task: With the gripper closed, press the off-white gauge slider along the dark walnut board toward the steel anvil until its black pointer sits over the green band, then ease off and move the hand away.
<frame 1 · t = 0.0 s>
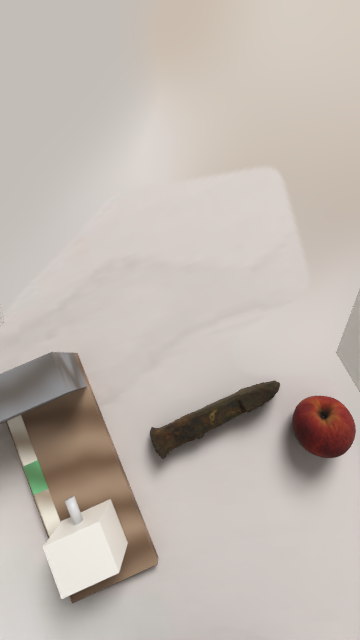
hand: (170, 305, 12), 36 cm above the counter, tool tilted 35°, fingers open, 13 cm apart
gauge board: (76, 469, 46), on the counter
hand tool: (213, 407, 47), on the counter
apple: (311, 420, 47), on the counter
gauge slider: (73, 537, 41), point 5 cm above the counter, slide at 0.0 cm
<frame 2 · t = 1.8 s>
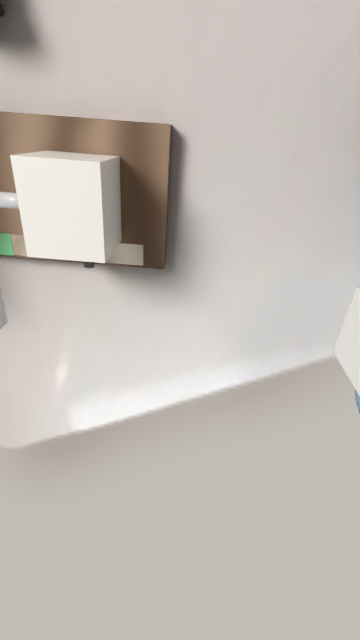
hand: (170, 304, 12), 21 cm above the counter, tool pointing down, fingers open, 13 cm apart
gauge board: (5, 188, 30), on the counter
gauge slider: (58, 220, 27), point 5 cm above the counter, slide at 0.0 cm
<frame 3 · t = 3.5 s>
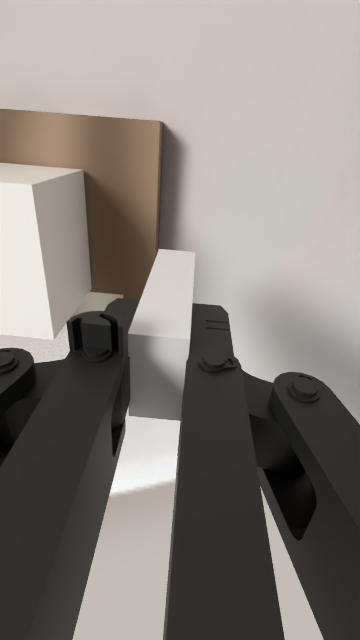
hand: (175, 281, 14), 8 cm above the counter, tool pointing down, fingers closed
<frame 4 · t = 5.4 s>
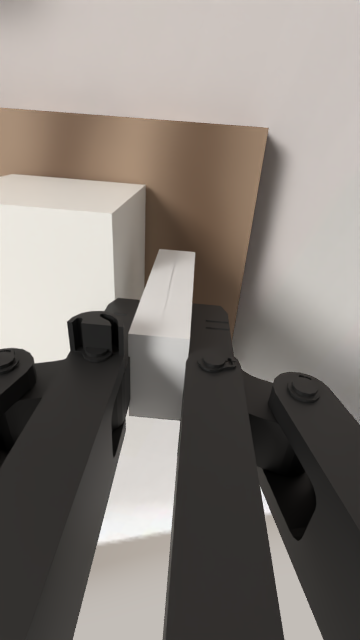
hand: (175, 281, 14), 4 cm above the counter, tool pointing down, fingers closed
gauge slider: (31, 302, 14), point 5 cm above the counter, slide at 1.0 cm, touching gripper
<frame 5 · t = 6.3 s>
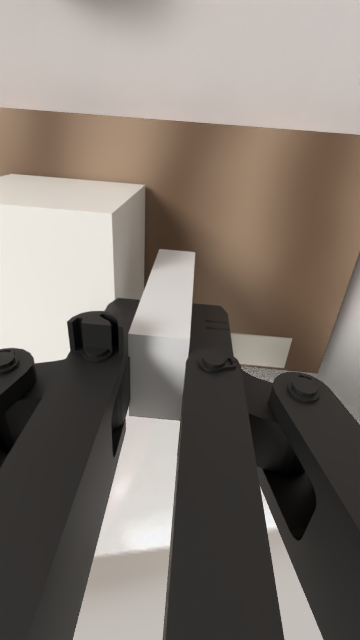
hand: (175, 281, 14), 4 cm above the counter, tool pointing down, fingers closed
gauge board: (61, 242, 18), on the counter
gauge slider: (31, 302, 14), point 5 cm above the counter, slide at 6.2 cm, touching gripper
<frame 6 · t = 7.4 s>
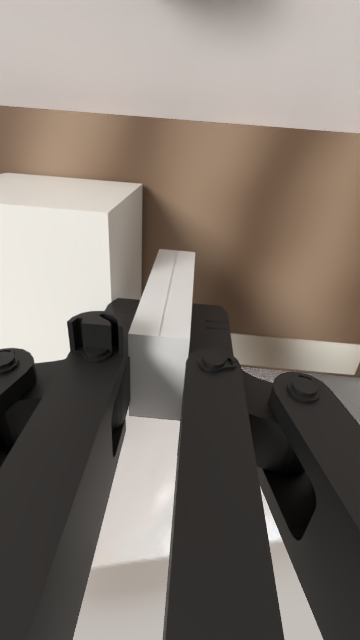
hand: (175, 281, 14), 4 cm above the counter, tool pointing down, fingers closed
gauge board: (133, 248, 18), on the counter
gauge slider: (26, 303, 14), point 5 cm above the counter, slide at 10.3 cm, touching gripper
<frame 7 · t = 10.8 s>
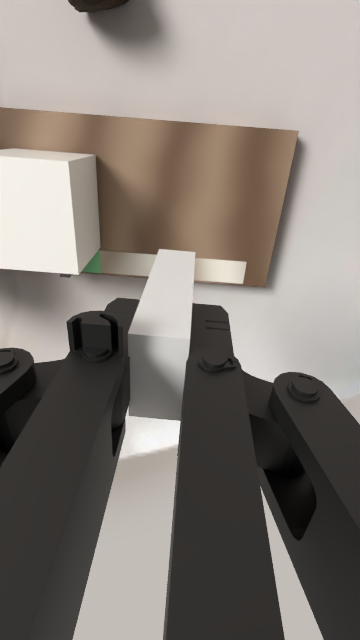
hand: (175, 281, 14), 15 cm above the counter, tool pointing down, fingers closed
gauge board: (96, 199, 27), on the counter
gauge slider: (27, 225, 24), point 5 cm above the counter, slide at 10.4 cm
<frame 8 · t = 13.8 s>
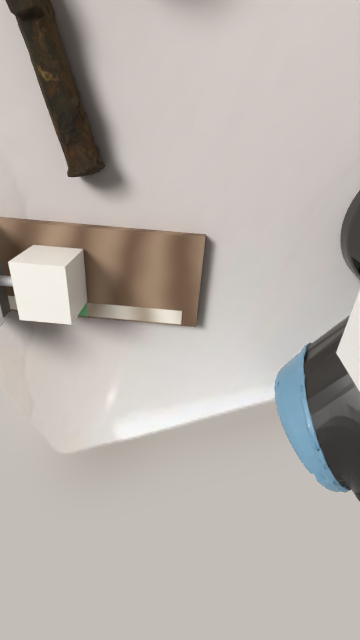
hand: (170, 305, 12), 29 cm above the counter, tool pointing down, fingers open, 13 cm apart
gauge board: (84, 270, 43), on the counter
hand tool: (56, 72, 33), on the counter
gauge slider: (41, 292, 39), point 5 cm above the counter, slide at 10.4 cm
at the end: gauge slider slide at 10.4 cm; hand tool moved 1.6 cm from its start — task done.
